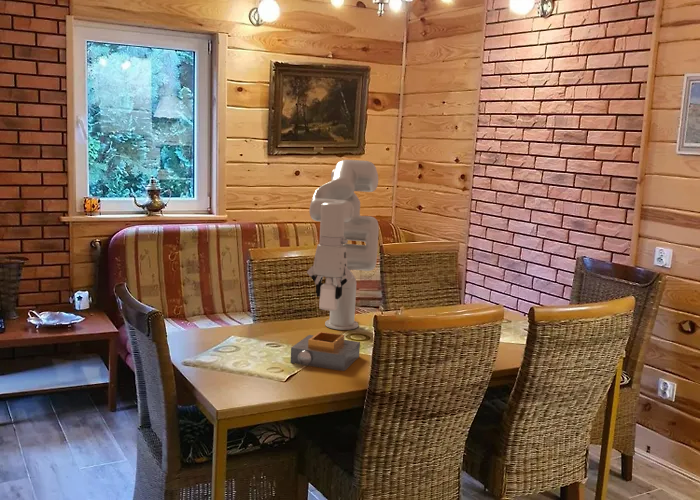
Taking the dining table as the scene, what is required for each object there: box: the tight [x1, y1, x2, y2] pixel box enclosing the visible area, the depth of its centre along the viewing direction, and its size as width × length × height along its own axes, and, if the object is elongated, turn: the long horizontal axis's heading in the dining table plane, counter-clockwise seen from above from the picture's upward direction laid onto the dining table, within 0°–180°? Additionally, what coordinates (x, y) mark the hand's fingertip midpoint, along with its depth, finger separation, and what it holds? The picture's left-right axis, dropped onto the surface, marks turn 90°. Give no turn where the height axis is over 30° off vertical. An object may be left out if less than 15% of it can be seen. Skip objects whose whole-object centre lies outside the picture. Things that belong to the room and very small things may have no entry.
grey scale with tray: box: [290, 331, 361, 372], centre depth 234 cm, size 18×18×8 cm
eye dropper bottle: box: [318, 277, 337, 312], centre depth 230 cm, size 4×6×12 cm
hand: (328, 296), depth 231 cm, fingers closed on eye dropper bottle, 5 cm apart
